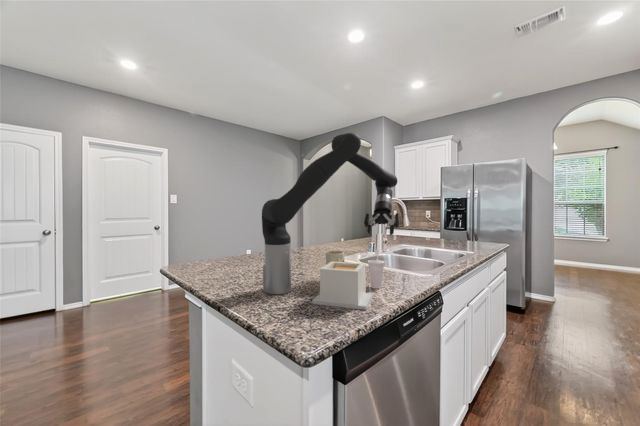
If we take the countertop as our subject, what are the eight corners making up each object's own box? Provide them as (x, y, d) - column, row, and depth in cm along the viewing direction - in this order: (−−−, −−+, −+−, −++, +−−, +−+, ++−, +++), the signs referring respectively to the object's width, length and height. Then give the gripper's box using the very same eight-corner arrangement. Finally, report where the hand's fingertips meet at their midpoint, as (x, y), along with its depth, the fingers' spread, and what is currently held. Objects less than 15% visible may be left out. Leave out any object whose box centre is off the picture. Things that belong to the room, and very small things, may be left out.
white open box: (312, 303, 86) (311, 268, 85) (325, 291, 98) (325, 260, 98) (366, 309, 80) (366, 272, 80) (373, 296, 92) (373, 263, 92)
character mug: (349, 289, 100) (348, 254, 99) (330, 291, 98) (329, 255, 98) (340, 281, 110) (339, 249, 110) (323, 283, 109) (322, 250, 108)
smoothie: (386, 289, 99) (386, 251, 99) (369, 289, 99) (368, 251, 99) (382, 284, 105) (382, 248, 105) (366, 284, 105) (366, 248, 105)
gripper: (366, 200, 123) (361, 227, 113) (399, 199, 118) (397, 228, 108) (368, 211, 128) (364, 239, 118) (400, 211, 123) (398, 239, 113)
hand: (380, 233), depth 113 cm, fingers open, 8 cm apart
